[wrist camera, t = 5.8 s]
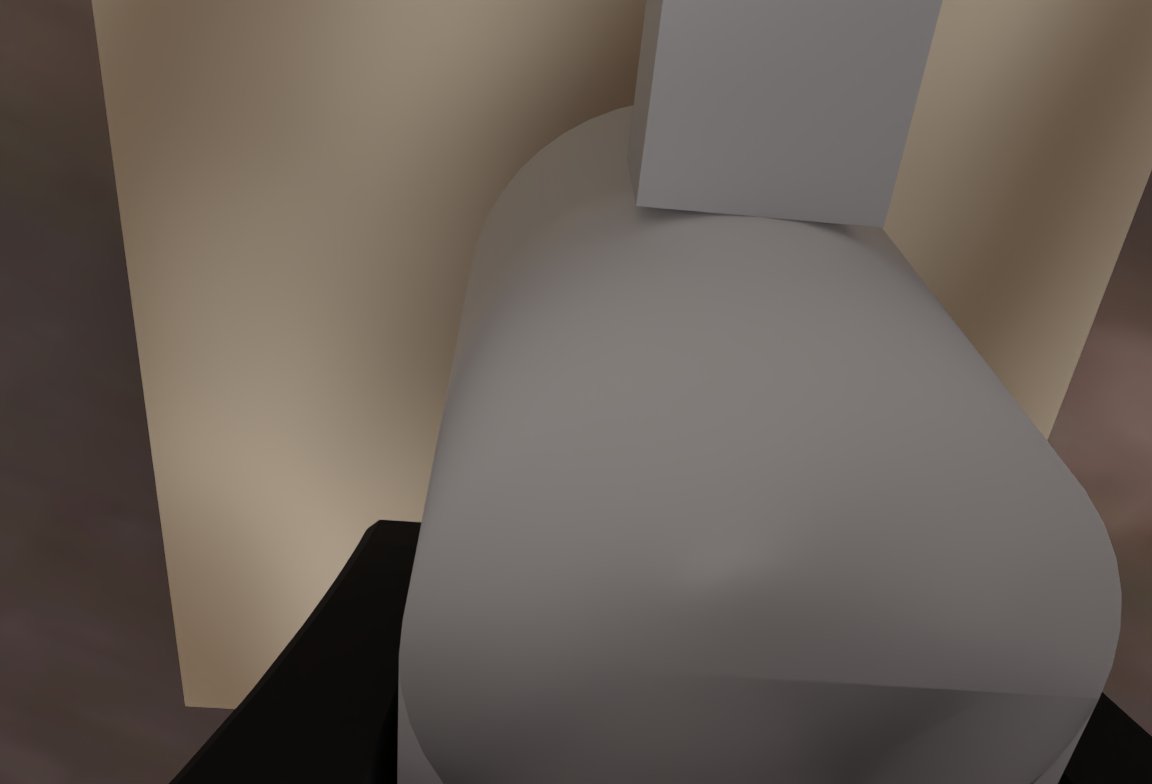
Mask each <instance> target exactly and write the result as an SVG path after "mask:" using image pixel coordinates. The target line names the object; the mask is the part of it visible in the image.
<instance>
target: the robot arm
mask: <svg viewBox="0 0 1152 784" xmlns="http://www.w3.org/2000/svg"><path fill="white" fill-rule="evenodd" d="M421 523H422V522H409V521H394V520H378V521H377V522H376V523H374V524H373V525H372V526H370V527H369V528H367V529H366V531H365V533H364V535H363V536H362V538H361V540H360V542H359V543H358V545H357V547H356V548H355V550H354V552H353V553H352V555H351V556H350V558H349V559H348V561H347V563H346V564H345V566H344V567H343V569H342V570H341V572H340V573H339V575H338V576H337V578H336V579H335V581H334V582H333V584H332V585H331V586H330V588H329V589H328V591H327V592H326V594H325V595H324V596H323V598H322V599H321V601H320V602H319V603H318V605H317V606H316V608H315V609H314V610H313V612H312V613H311V614H310V616H309V617H308V619H307V620H306V621H305V623H304V624H303V625H302V627H301V628H300V629H299V630H298V632H297V633H296V634H295V636H294V637H293V638H292V639H291V641H290V642H289V643H288V645H287V646H286V647H285V648H284V650H283V651H282V652H281V653H280V655H279V656H278V657H277V659H276V660H275V661H274V662H273V664H272V665H271V666H270V667H269V669H268V670H267V671H266V673H265V674H264V675H263V676H262V678H261V679H260V680H259V682H258V683H257V684H256V685H255V686H254V688H253V689H252V690H251V691H250V692H249V694H248V695H247V696H246V697H245V698H244V700H243V701H242V702H241V703H240V704H239V705H238V707H237V708H236V709H235V710H234V711H233V712H232V713H231V715H230V716H229V717H228V718H227V719H226V720H225V721H224V722H223V724H222V725H221V726H220V727H219V728H218V729H217V730H216V732H215V733H214V734H213V735H212V736H211V737H210V738H209V739H208V741H207V742H206V743H205V744H204V745H203V746H202V747H201V749H200V750H199V751H198V752H197V753H196V754H195V755H194V756H193V758H192V759H191V760H190V761H189V762H188V763H187V764H186V766H185V767H184V768H183V769H182V770H181V771H180V772H179V773H178V774H177V776H176V777H175V778H174V779H173V780H172V781H171V782H170V783H169V784H397V760H398V681H399V650H400V640H401V630H402V621H403V616H404V611H405V605H406V600H407V595H408V590H409V585H410V579H411V574H412V569H413V564H414V559H415V554H416V548H417V543H418V538H419V533H420V528H421ZM1058 784H1152V736H1150V735H1149V734H1148V733H1147V732H1146V731H1145V730H1144V729H1143V728H1141V727H1140V726H1139V725H1138V724H1137V723H1136V722H1135V721H1134V720H1132V719H1131V718H1130V717H1129V716H1128V715H1127V714H1126V713H1125V712H1124V711H1122V710H1121V709H1120V708H1119V707H1118V706H1117V705H1116V704H1115V703H1114V702H1113V701H1111V700H1110V699H1109V698H1108V697H1107V696H1106V695H1105V694H1104V693H1103V692H1102V693H1101V695H1100V698H1099V700H1098V702H1097V704H1096V706H1095V708H1094V710H1093V712H1092V714H1091V716H1090V719H1089V721H1088V723H1087V725H1086V727H1085V729H1084V731H1083V733H1082V735H1081V737H1080V739H1079V741H1078V743H1077V745H1076V747H1075V749H1074V751H1073V753H1072V755H1071V758H1070V760H1069V762H1068V764H1067V766H1066V768H1065V770H1064V772H1063V774H1062V776H1061V778H1060V780H1059V782H1058Z"/></svg>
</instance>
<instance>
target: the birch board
mask: <svg viewBox="0 0 1152 784" xmlns="http://www.w3.org/2000/svg"><path fill="white" fill-rule="evenodd" d="M92 7H93V14H94V22H95V29H96V37H97V45H98V52H99V60H100V67H101V75H102V82H103V90H104V97H105V105H106V112H107V120H108V127H109V135H110V143H111V150H112V158H113V165H114V173H115V180H116V188H117V195H118V203H119V210H120V218H121V225H122V233H123V240H124V248H125V256H126V263H127V271H128V278H129V286H130V293H131V301H132V308H133V316H134V323H135V331H136V338H137V346H138V353H139V361H140V369H141V376H142V384H143V391H144V399H145V406H146V414H147V421H148V429H149V436H150V444H151V451H152V459H153V466H154V474H155V482H156V489H157V497H158V504H159V512H160V519H161V527H162V534H163V542H164V549H165V557H166V564H167V572H168V579H169V587H170V595H171V602H172V610H173V617H174V625H175V632H176V640H177V647H178V655H179V662H180V670H181V677H182V685H183V692H184V700H185V706H192V707H209V708H227V709H236V708H237V707H238V705H239V704H240V703H241V702H242V701H243V700H244V698H245V697H246V696H247V695H248V694H249V692H250V691H251V690H252V689H253V688H254V686H255V685H256V684H257V683H258V682H259V680H260V679H261V678H262V676H263V675H264V674H265V673H266V671H267V670H268V669H269V667H270V666H271V665H272V664H273V662H274V661H275V660H276V659H277V657H278V656H279V655H280V653H281V652H282V651H283V650H284V648H285V647H286V646H287V645H288V643H289V642H290V641H291V639H292V638H293V637H294V636H295V634H296V633H297V632H298V630H299V629H300V628H301V627H302V625H303V624H304V623H305V621H306V620H307V619H308V617H309V616H310V614H311V613H312V612H313V610H314V609H315V608H316V606H317V605H318V603H319V602H320V601H321V599H322V598H323V596H324V595H325V594H326V592H327V591H328V589H329V588H330V586H331V585H332V584H333V582H334V581H335V579H336V578H337V576H338V575H339V573H340V572H341V570H342V569H343V567H344V566H345V564H346V563H347V561H348V559H349V558H350V556H351V555H352V553H353V552H354V550H355V548H356V547H357V545H358V543H359V542H360V540H361V538H362V536H363V535H364V533H365V531H366V529H367V528H369V527H370V526H372V525H373V524H374V523H376V522H377V521H378V520H394V521H409V522H422V517H423V512H424V507H425V502H426V497H427V491H428V486H429V481H430V476H431V471H432V466H433V460H434V455H435V450H436V445H437V440H438V435H439V429H440V424H441V419H442V414H443V409H444V403H445V398H446V393H447V388H448V383H449V378H450V372H451V367H452V362H453V357H454V352H455V347H456V341H457V336H458V331H459V326H460V321H461V316H462V310H463V305H464V300H465V295H466V290H467V284H468V279H469V274H470V269H471V264H472V260H473V256H474V252H475V248H476V245H477V241H478V238H479V235H480V233H481V231H482V228H483V226H484V223H485V221H486V219H487V216H488V214H489V212H490V211H491V209H492V207H493V206H494V204H495V202H496V201H497V199H498V197H499V196H500V194H501V192H502V191H503V190H504V188H505V187H506V186H507V185H508V183H509V182H510V181H511V180H512V178H513V177H514V176H515V175H516V173H517V172H518V171H519V170H520V169H521V168H522V167H523V166H524V165H525V164H526V163H527V162H528V161H529V160H530V159H531V158H532V157H534V156H535V155H536V154H537V153H538V152H539V151H540V150H541V149H543V148H544V147H545V146H547V145H548V144H550V143H551V142H552V141H554V140H555V139H556V138H558V137H559V136H561V135H562V134H563V133H565V132H567V131H569V130H571V129H573V128H575V127H576V126H578V125H580V124H582V123H584V122H586V121H588V120H590V119H592V118H595V117H598V116H600V115H603V114H605V113H608V112H611V111H613V110H616V109H620V108H624V107H628V106H632V105H634V98H635V90H636V82H637V73H638V65H639V57H640V49H641V41H642V33H643V24H644V16H645V8H646V0H92ZM1151 170H1152V0H943V1H942V4H941V8H940V12H939V16H938V20H937V24H936V28H935V31H934V35H933V39H932V43H931V47H930V51H929V55H928V59H927V62H926V66H925V70H924V74H923V78H922V82H921V86H920V89H919V93H918V97H917V101H916V105H915V109H914V113H913V116H912V120H911V124H910V128H909V132H908V136H907V140H906V144H905V147H904V151H903V155H902V159H901V163H900V167H899V171H898V174H897V178H896V182H895V186H894V190H893V194H892V198H891V202H890V205H889V209H888V213H887V217H886V221H885V225H884V228H883V230H884V231H885V232H886V233H887V235H888V236H889V237H890V239H891V240H892V241H893V243H894V244H895V245H896V246H897V248H898V249H899V250H900V252H901V253H902V254H903V255H904V257H905V258H906V259H907V261H908V262H909V263H910V264H911V266H912V267H913V268H914V270H915V271H916V272H917V274H918V275H919V276H920V277H921V279H922V280H923V281H924V283H925V284H926V285H927V286H928V288H929V289H930V290H931V292H932V293H933V294H934V295H935V297H936V298H937V299H938V301H939V302H940V303H941V305H942V306H943V307H944V308H945V310H946V311H947V312H948V314H949V315H950V316H951V317H952V319H953V320H954V321H955V323H956V324H957V325H958V327H959V328H960V329H961V330H962V332H963V333H964V334H965V336H966V337H967V338H968V339H969V341H970V342H971V343H972V345H973V346H974V347H975V348H976V350H977V351H978V352H979V354H980V355H981V356H982V358H983V359H984V360H985V361H986V363H987V364H988V365H989V367H990V368H991V369H992V370H993V372H994V373H995V374H996V376H997V377H998V378H999V379H1000V381H1001V382H1002V383H1003V385H1004V386H1005V387H1006V389H1007V390H1008V391H1009V392H1010V394H1011V395H1012V396H1013V398H1014V399H1015V400H1016V401H1017V403H1018V404H1019V405H1020V407H1021V408H1022V409H1023V411H1024V412H1025V413H1026V414H1027V416H1028V417H1029V418H1030V420H1031V421H1032V422H1033V423H1034V425H1035V426H1036V427H1037V429H1038V430H1039V431H1040V432H1041V434H1042V435H1043V436H1044V438H1045V439H1046V440H1048V438H1049V435H1050V432H1051V430H1052V427H1053V425H1054V422H1055V419H1056V417H1057V414H1058V412H1059V409H1060V406H1061V404H1062V401H1063V399H1064V396H1065V393H1066V391H1067V388H1068V386H1069V383H1070V380H1071V378H1072V375H1073V373H1074V370H1075V368H1076V365H1077V362H1078V360H1079V357H1080V355H1081V352H1082V349H1083V347H1084V344H1085V342H1086V339H1087V336H1088V334H1089V331H1090V329H1091V326H1092V323H1093V321H1094V318H1095V316H1096V313H1097V310H1098V308H1099V305H1100V303H1101V300H1102V297H1103V295H1104V292H1105V290H1106V287H1107V284H1108V282H1109V279H1110V277H1111V274H1112V271H1113V269H1114V266H1115V264H1116V261H1117V259H1118V256H1119V253H1120V251H1121V248H1122V246H1123V243H1124V240H1125V238H1126V235H1127V233H1128V230H1129V227H1130V225H1131V222H1132V220H1133V217H1134V214H1135V212H1136V209H1137V207H1138V204H1139V201H1140V199H1141V196H1142V194H1143V191H1144V188H1145V186H1146V183H1147V181H1148V178H1149V175H1150V173H1151Z"/></svg>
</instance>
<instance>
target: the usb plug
mask: <svg viewBox="0 0 1152 784" xmlns="http://www.w3.org/2000/svg"><path fill="white" fill-rule="evenodd" d="M942 1H943V0H646V8H645V16H644V24H643V33H642V41H641V49H640V57H639V65H638V73H637V82H636V90H635V98H634V105H632V106H628V107H624V108H620V109H616V110H613V111H611V112H608V113H605V114H603V115H600V116H598V117H595V118H592V119H590V120H588V121H586V122H584V123H582V124H580V125H578V126H576V127H575V128H573V129H571V130H569V131H567V132H565V133H563V134H562V135H561V136H559V137H558V138H556V139H555V140H554V141H552V142H551V143H550V144H548V145H547V146H545V147H544V148H543V149H541V150H540V151H539V152H538V153H537V154H536V155H535V156H534V157H532V158H531V159H530V160H529V161H528V162H527V163H526V164H525V165H524V166H523V167H522V168H521V169H520V170H519V171H518V172H517V173H516V175H515V176H514V177H513V178H512V180H511V181H510V182H509V183H508V185H507V186H506V187H505V188H504V190H503V191H502V192H501V194H500V196H499V197H498V199H497V201H496V202H495V204H494V206H493V207H492V209H491V211H490V212H489V214H488V216H487V219H486V221H485V223H484V226H483V228H482V231H481V233H480V235H479V238H478V241H477V245H476V248H475V252H474V256H473V260H472V264H471V269H470V274H469V279H468V284H467V290H466V295H465V300H464V305H463V310H462V316H461V321H460V326H459V331H458V336H457V341H456V347H455V352H454V357H453V362H452V367H451V372H450V378H449V383H448V388H447V393H446V398H445V403H444V409H443V414H442V419H441V424H440V429H439V435H438V440H437V445H436V450H435V455H434V460H433V466H432V471H431V476H430V481H429V486H428V491H427V497H426V502H425V507H424V512H423V517H422V523H421V528H420V533H419V538H418V543H417V548H416V554H415V559H414V564H413V569H412V574H411V579H410V585H409V590H408V595H407V600H406V605H405V611H404V616H403V621H402V630H401V640H400V650H399V681H398V760H397V784H1058V782H1059V780H1060V778H1061V776H1062V774H1063V772H1064V770H1065V768H1066V766H1067V764H1068V762H1069V760H1070V758H1071V755H1072V753H1073V751H1074V749H1075V747H1076V745H1077V743H1078V741H1079V739H1080V737H1081V735H1082V733H1083V731H1084V729H1085V727H1086V725H1087V723H1088V721H1089V719H1090V716H1091V714H1092V712H1093V710H1094V708H1095V706H1096V704H1097V702H1098V700H1099V698H1100V695H1101V693H1102V690H1103V688H1104V685H1105V683H1106V680H1107V678H1108V675H1109V673H1110V670H1111V668H1112V665H1113V661H1114V656H1115V652H1116V647H1117V643H1118V638H1119V633H1120V624H1121V599H1122V593H1121V586H1120V579H1119V572H1118V565H1117V559H1116V556H1115V553H1114V550H1113V547H1112V544H1111V541H1110V538H1109V536H1108V533H1107V530H1106V527H1105V524H1104V522H1103V520H1102V519H1101V517H1100V515H1099V513H1098V512H1097V510H1096V508H1095V506H1094V505H1093V503H1092V501H1091V500H1090V498H1089V496H1088V494H1087V493H1086V491H1085V489H1084V488H1083V487H1082V485H1081V484H1080V483H1079V482H1078V480H1077V479H1076V478H1075V476H1074V475H1073V474H1072V473H1071V471H1070V470H1069V469H1068V467H1067V466H1066V465H1065V463H1064V462H1063V461H1062V460H1061V458H1060V457H1059V456H1058V454H1057V453H1056V452H1055V451H1054V449H1053V448H1052V447H1051V445H1050V444H1049V443H1048V442H1047V440H1046V439H1045V438H1044V436H1043V435H1042V434H1041V432H1040V431H1039V430H1038V429H1037V427H1036V426H1035V425H1034V423H1033V422H1032V421H1031V420H1030V418H1029V417H1028V416H1027V414H1026V413H1025V412H1024V411H1023V409H1022V408H1021V407H1020V405H1019V404H1018V403H1017V401H1016V400H1015V399H1014V398H1013V396H1012V395H1011V394H1010V392H1009V391H1008V390H1007V389H1006V387H1005V386H1004V385H1003V383H1002V382H1001V381H1000V379H999V378H998V377H997V376H996V374H995V373H994V372H993V370H992V369H991V368H990V367H989V365H988V364H987V363H986V361H985V360H984V359H983V358H982V356H981V355H980V354H979V352H978V351H977V350H976V348H975V347H974V346H973V345H972V343H971V342H970V341H969V339H968V338H967V337H966V336H965V334H964V333H963V332H962V330H961V329H960V328H959V327H958V325H957V324H956V323H955V321H954V320H953V319H952V317H951V316H950V315H949V314H948V312H947V311H946V310H945V308H944V307H943V306H942V305H941V303H940V302H939V301H938V299H937V298H936V297H935V295H934V294H933V293H932V292H931V290H930V289H929V288H928V286H927V285H926V284H925V283H924V281H923V280H922V279H921V277H920V276H919V275H918V274H917V272H916V271H915V270H914V268H913V267H912V266H911V264H910V263H909V262H908V261H907V259H906V258H905V257H904V255H903V254H902V253H901V252H900V250H899V249H898V248H897V246H896V245H895V244H894V243H893V241H892V240H891V239H890V237H889V236H888V235H887V233H886V232H885V231H884V230H883V228H884V225H885V221H886V217H887V213H888V209H889V205H890V202H891V198H892V194H893V190H894V186H895V182H896V178H897V174H898V171H899V167H900V163H901V159H902V155H903V151H904V147H905V144H906V140H907V136H908V132H909V128H910V124H911V120H912V116H913V113H914V109H915V105H916V101H917V97H918V93H919V89H920V86H921V82H922V78H923V74H924V70H925V66H926V62H927V59H928V55H929V51H930V47H931V43H932V39H933V35H934V31H935V28H936V24H937V20H938V16H939V12H940V8H941V4H942Z"/></svg>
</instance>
